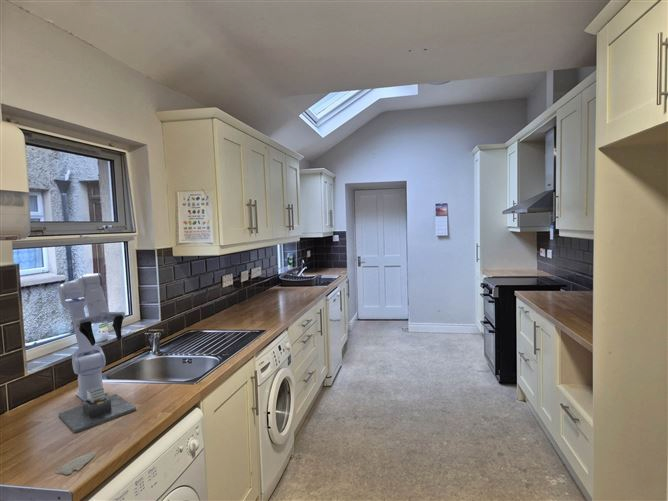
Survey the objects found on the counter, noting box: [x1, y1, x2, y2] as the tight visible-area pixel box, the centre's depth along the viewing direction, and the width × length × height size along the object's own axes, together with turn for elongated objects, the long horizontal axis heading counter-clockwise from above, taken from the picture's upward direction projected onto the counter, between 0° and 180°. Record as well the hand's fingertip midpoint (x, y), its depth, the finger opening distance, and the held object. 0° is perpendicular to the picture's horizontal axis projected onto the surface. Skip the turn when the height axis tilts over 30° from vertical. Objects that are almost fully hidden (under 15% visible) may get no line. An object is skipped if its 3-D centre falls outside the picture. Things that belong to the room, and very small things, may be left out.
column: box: [86, 385, 106, 405], centre depth 133 cm, size 4×4×7 cm
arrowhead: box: [54, 451, 97, 476], centre depth 105 cm, size 7×2×10 cm
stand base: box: [58, 394, 137, 434], centre depth 133 cm, size 18×18×5 cm
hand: (106, 341), depth 128 cm, fingers open, 7 cm apart
